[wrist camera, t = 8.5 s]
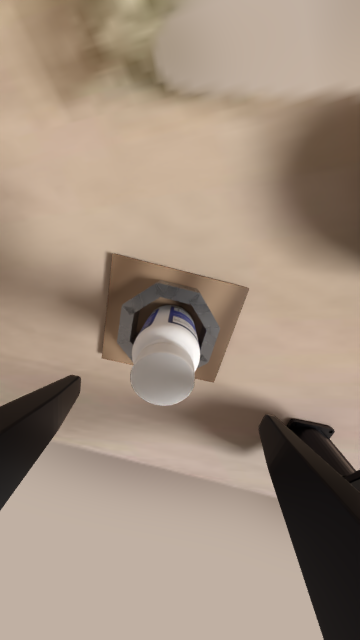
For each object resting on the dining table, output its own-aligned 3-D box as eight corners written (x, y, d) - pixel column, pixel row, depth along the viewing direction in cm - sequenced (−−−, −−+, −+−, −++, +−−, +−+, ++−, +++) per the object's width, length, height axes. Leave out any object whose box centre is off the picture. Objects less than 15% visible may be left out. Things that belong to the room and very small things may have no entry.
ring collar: (223, 295, 17) (230, 300, 15) (198, 370, 20) (200, 384, 18) (134, 273, 17) (125, 274, 14) (122, 353, 20) (113, 365, 17)
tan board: (245, 287, 18) (249, 288, 17) (212, 377, 22) (213, 382, 21) (116, 254, 17) (112, 253, 16) (105, 354, 21) (101, 358, 20)
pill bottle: (154, 352, 20) (133, 420, 11) (140, 310, 18) (104, 352, 9) (199, 343, 19) (212, 406, 11) (189, 298, 17) (195, 333, 9)
